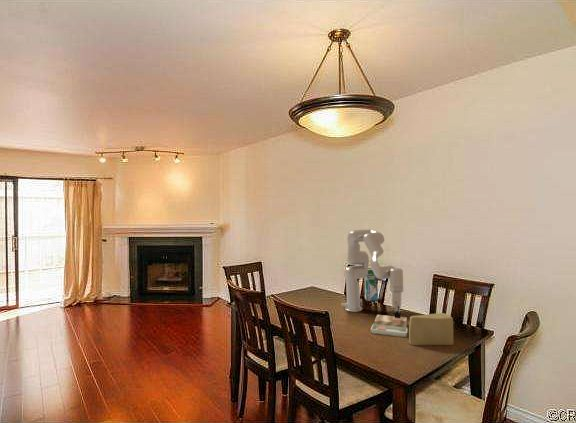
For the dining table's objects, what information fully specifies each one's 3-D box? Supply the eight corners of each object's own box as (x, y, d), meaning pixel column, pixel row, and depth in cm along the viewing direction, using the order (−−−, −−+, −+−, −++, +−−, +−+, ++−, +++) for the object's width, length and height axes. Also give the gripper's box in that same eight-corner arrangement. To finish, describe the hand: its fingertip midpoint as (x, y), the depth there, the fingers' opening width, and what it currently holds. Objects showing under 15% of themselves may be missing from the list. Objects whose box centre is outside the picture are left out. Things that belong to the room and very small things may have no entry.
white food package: (374, 327, 202) (374, 320, 202) (377, 321, 213) (377, 314, 213) (405, 331, 195) (405, 323, 195) (407, 324, 206) (406, 317, 206)
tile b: (392, 323, 196) (392, 319, 196) (393, 320, 200) (393, 317, 200) (400, 323, 194) (400, 320, 194) (401, 321, 198) (401, 318, 198)
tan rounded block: (414, 348, 170) (413, 319, 170) (405, 341, 180) (404, 313, 180) (454, 345, 172) (453, 317, 172) (444, 338, 182) (443, 311, 182)
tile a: (378, 326, 197) (378, 329, 197) (377, 328, 193) (377, 331, 193) (386, 326, 195) (386, 330, 195) (385, 329, 191) (385, 332, 191)
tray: (370, 333, 193) (370, 329, 193) (373, 327, 202) (373, 323, 202) (406, 337, 185) (406, 333, 185) (407, 331, 194) (407, 327, 194)
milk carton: (376, 298, 271) (375, 267, 271) (377, 300, 262) (377, 269, 262) (364, 298, 272) (364, 267, 272) (366, 300, 263) (365, 269, 263)
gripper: (391, 285, 209) (392, 314, 209) (389, 290, 195) (390, 321, 195) (403, 286, 206) (404, 315, 206) (402, 291, 192) (403, 323, 192)
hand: (397, 318), depth 200 cm, fingers closed
